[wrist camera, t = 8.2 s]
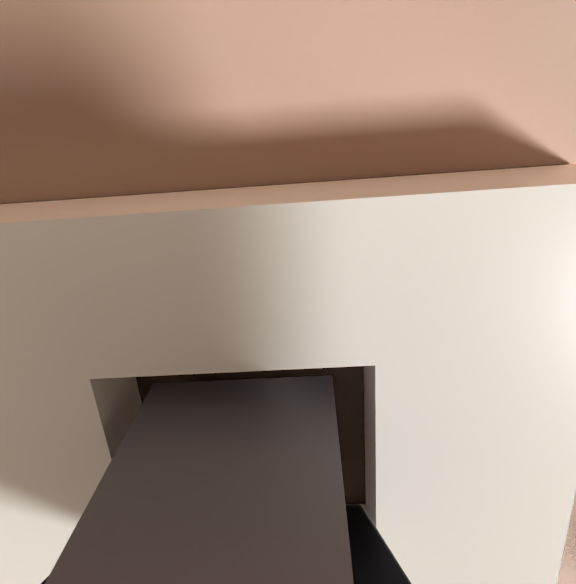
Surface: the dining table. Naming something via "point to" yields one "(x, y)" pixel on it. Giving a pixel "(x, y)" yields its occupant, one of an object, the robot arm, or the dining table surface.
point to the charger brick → (219, 490)
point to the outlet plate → (310, 348)
